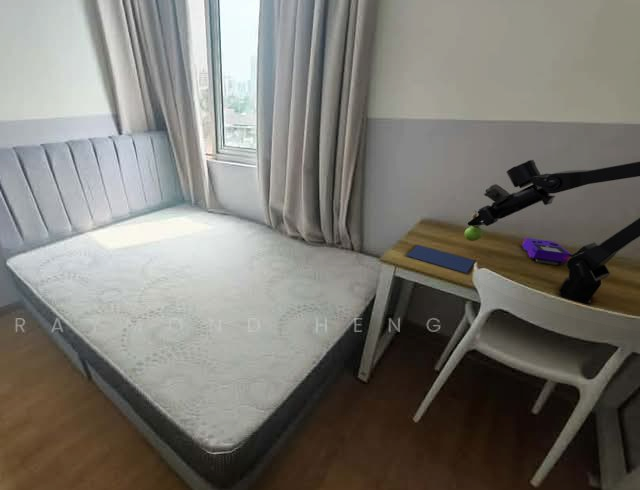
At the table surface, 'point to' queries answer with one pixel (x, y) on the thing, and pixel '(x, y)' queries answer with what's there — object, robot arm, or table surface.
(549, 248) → the handheld gaming console
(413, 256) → the navy cloth
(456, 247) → the table surface
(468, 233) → the snail figurine
